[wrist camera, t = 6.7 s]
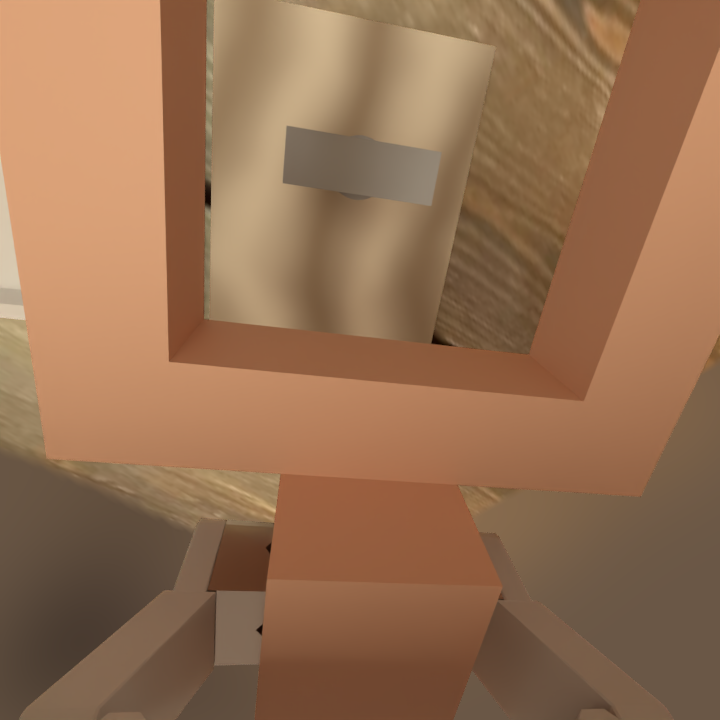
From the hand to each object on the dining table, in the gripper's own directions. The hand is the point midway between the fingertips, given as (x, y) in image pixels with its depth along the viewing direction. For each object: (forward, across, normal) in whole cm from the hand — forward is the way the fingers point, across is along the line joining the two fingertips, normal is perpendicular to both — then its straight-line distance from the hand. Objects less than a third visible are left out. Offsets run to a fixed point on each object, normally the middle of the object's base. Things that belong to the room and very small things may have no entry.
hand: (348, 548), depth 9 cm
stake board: (+21, 0, -5) cm, 21 cm away
